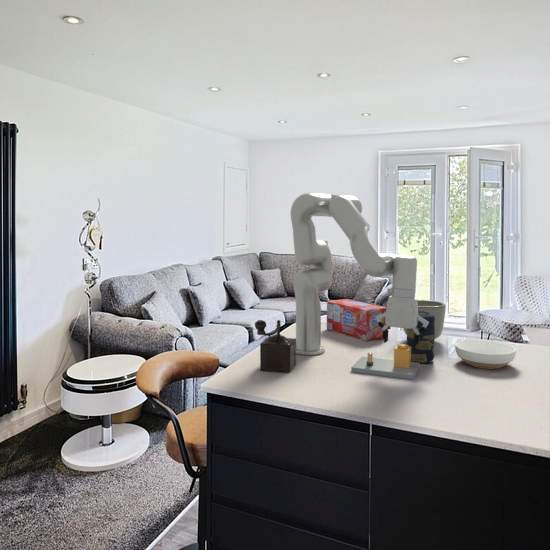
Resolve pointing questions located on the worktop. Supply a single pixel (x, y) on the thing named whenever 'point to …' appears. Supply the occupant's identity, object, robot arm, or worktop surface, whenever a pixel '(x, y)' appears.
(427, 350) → the canister
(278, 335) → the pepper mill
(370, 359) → the copper post
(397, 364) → the yellow cube with sphere
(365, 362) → the plate
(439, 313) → the planter
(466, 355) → the bowl
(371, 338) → the box
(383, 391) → the worktop surface
